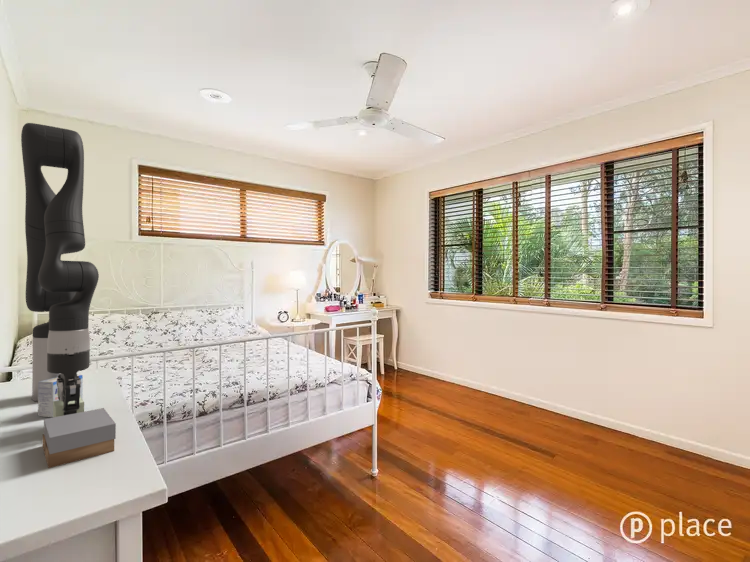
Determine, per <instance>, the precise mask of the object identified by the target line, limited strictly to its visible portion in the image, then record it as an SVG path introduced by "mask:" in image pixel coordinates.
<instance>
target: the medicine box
mask: <svg viewBox="0 0 750 562" xmlns="http://www.w3.org/2000/svg"><path fill="white" fill-rule="evenodd" d="M77 376H79V378H81V388H80V397H81V398H82V399H83V396H84V395H83V389H84V388H83V386H84V385H83V382H84V381H83V377H84V376H83V375H82V374H78V373H77ZM57 379H58V377H56V378H52V379H48V380H44V381H40V382H38V401H37V402H38V403H37V407H38V409H37V414H38V415H37V416H38V417H41V418H42V417H44V418H53V401H59V399H58V394H57V391H58V387H57Z"/></svg>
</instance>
